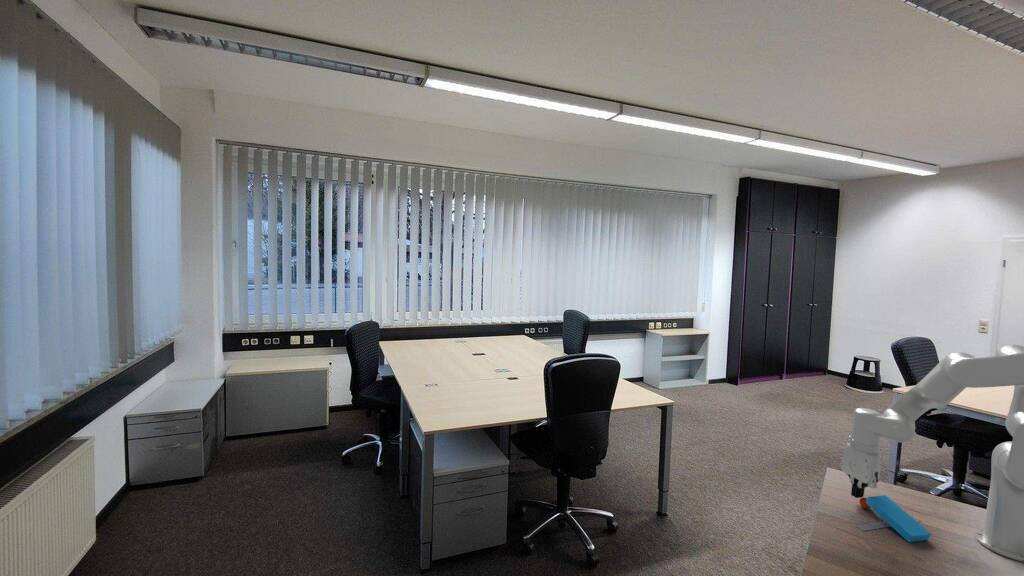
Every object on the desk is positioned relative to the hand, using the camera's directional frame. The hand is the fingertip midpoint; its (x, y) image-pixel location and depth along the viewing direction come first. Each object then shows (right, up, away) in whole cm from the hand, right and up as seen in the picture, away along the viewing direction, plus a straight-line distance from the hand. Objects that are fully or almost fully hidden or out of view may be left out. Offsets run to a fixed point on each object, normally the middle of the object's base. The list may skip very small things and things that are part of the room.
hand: (857, 496), depth 147 cm
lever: (+2, -4, -10) cm, 11 cm away
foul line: (+2, -4, -10) cm, 11 cm away
